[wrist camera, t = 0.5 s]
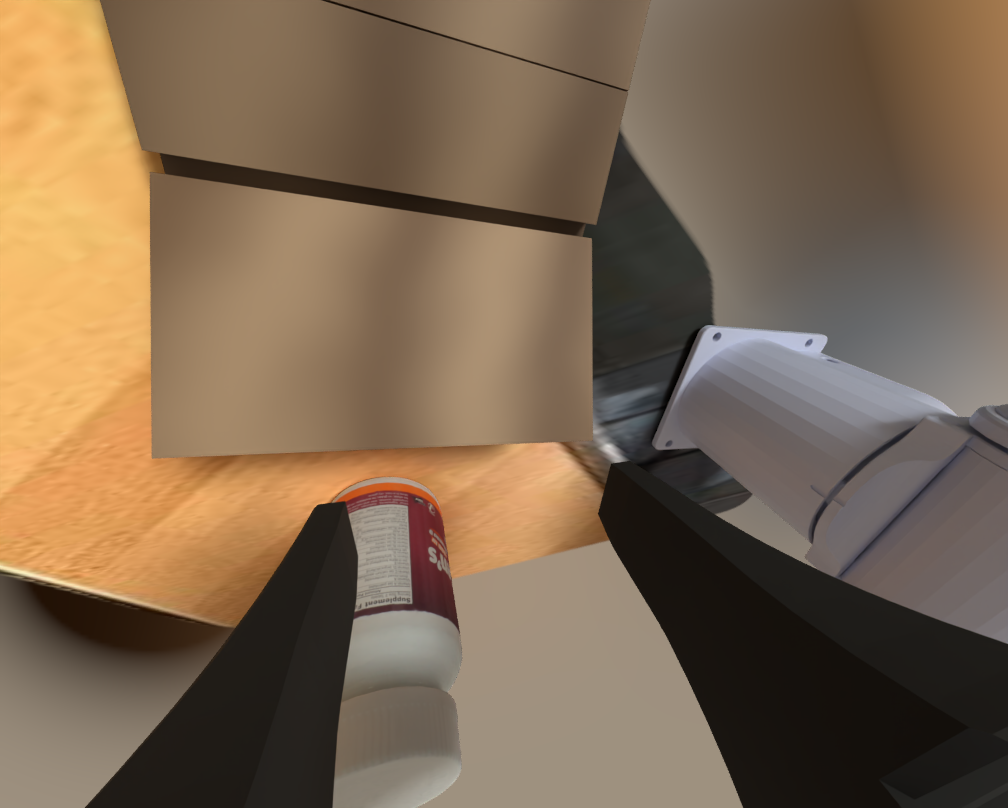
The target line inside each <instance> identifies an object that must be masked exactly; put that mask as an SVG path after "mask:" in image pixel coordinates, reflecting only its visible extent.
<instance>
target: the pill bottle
mask: <svg viewBox="0 0 1008 808" xmlns="http://www.w3.org/2000/svg"><path fill="white" fill-rule="evenodd" d="M341 501H346V506H347V510H348V514H349V519H350V523H351V527H352V531H353V536H354V540H355V544H356V549H357V553H358V579H357V599H356V606H355V613H354V620H353V627H352V633H351V640H350V647H349V653H348V660H347V667H346V673H345V680H344V687H343V693H342V700H341V707H340V715H339V724H338V733H337V748H336V762H335V777H334V792H333V808H417V807H419V806H420V805H423V804H424V803H426V802H428V801H430V800H432V799H433V798H435V797H436V796H438V795H440V794H441V793H442V792H444V791H445V790H446V789H447V788H448V787H450V786H451V785H452V784H453V783H454V782H455V780H456V779H457V778H458V776H459V774H460V771H461V766H462V763H461V751H460V741H459V733H458V720H457V719H458V718H457V710H456V703H455V701H454V699H453V698H452V696H451V695H449V694H448V693H447V692H448V691H449V690H450V688H451V687H452V685H453V684H454V682H455V680H456V678H457V675H458V673H459V670H460V666H461V661H462V647H461V639H460V631H459V625H458V619H457V613H456V607H455V600H454V594H453V587H452V578H451V573H450V567H449V560H448V552H447V547H446V540H445V534H444V526H443V520H442V514H441V509H440V505H439V503H438V501H437V499H436V497H435V496H434V494H433V493H432V492H431V491H430V490H429V489H428V488H427V487H425V486H423V485H422V484H420V483H418V482H415V481H413V480H409V479H406V478H401V477H379V478H373V479H368V480H364V481H362V482H359V483H357V484H354V485H352V486H350V487H348V488H347V489H345V490H344V491H342V492H341V493H340V494H339V495H338V496H337V497H336V498H335V499H334V500H333V501H332V503H334V502H341Z"/></svg>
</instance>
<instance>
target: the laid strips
mask: <svg viewBox="0 0 1008 808" xmlns="http://www.w3.org/2000/svg"><path fill="white" fill-rule="evenodd" d="M650 1H651V0H100V2H101V5H102V9H103V12H104V16H105V20H106V23H107V27H108V30H109V34H110V37H111V41H112V44H113V48H114V52H115V55H116V59H117V62H118V66H119V69H120V73H121V77H122V80H123V84H124V87H125V91H126V94H127V98H128V102H129V105H130V109H131V112H132V116H133V119H134V123H135V126H136V130H137V134H138V137H139V141H140V144H141V148H142V150H145V151H151V152H157V153H160V155H161V159H162V163H163V167H164V171H165V174H167V175H174V176H180V177H187V178H194V179H200V180H207V181H214V182H220V183H227V184H234V185H240V186H247V187H253V188H260V189H267V190H273V191H280V192H287V193H293V194H300V195H307V196H313V197H320V198H327V199H333V200H340V201H346V202H353V203H360V204H366V205H373V206H380V207H386V208H393V209H400V210H406V211H413V212H419V213H426V214H433V215H439V216H446V217H453V218H459V219H466V220H473V221H479V222H486V223H492V224H499V225H506V226H512V227H519V228H526V229H532V230H539V231H546V232H552V233H559V234H565V235H572V236H579V237H583V232H584V228H585V224H586V223H589V224H595V225H596V223H597V219H598V215H599V211H600V207H601V203H602V199H603V194H604V190H605V186H606V182H607V178H608V174H609V170H610V166H611V162H612V157H613V153H614V149H615V145H616V141H617V137H618V133H619V129H620V124H621V120H622V116H623V111H624V108H625V104H626V99H627V96H628V92H626V91H628V90H629V87H630V83H631V79H632V75H633V71H634V67H635V63H636V59H637V54H638V50H639V46H640V42H641V38H642V34H643V30H644V26H645V22H646V17H647V13H648V9H649V5H650Z"/></svg>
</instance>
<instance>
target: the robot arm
mask: <svg viewBox="0 0 1008 808" xmlns="http://www.w3.org/2000/svg"><path fill="white" fill-rule="evenodd" d="M715 334H716V335H715ZM714 335H715V336H714ZM713 336H714V337H713ZM826 342H827V337H826V336H824V335H822V334H814V333H802V332H789V331H776V330H763V329H750V328H737V327H736V328H735V327H724V326H711V325H708V326H705V327H703V328H702V329H701V330H700V331H699V332H698V334H697V337H696V339H695V341H694V344H693V346H692V348H691V351H690V353H689V356H688V358H687V360H686V363H685V365H684V367H683V370H682V372H681V375H680V377H679V379H678V382H677V384H676V386H675V389H674V391H673V394H672V396H671V398H670V401H669V403H668V405H667V408H666V410H665V413H664V415H663V417H662V420H661V422H660V424H659V427H658V429H657V432H656V434H655V436H654V439H653V441H652V445H653V446H654V447H655V448H656V449H657V450H668V449H687V448H699V449H700V450H702V451H703V452H704V453H705V454H706V455H708V456H709V457H710V458H711V459H712V460H713V461H715V462H716V463H717V464H718V465H719V466H721V467H722V468H723V469H724V470H725V471H726V472H728V473H729V474H730V475H731V476H732V477H733V478H735V479H736V480H737V481H738V482H739V483H741V484H742V485H743V486H744V487H745V488H746V489H748V490H749V491H750V492H751V493H752V494H754V495H755V496H756V497H757V498H758V499H759V500H761V501H762V502H763V503H764V504H765V505H767V506H768V507H769V508H770V509H771V510H772V511H774V512H775V513H776V514H777V515H778V516H779V517H781V518H782V519H783V520H784V521H785V522H787V523H788V524H789V525H790V526H791V527H793V528H794V529H795V530H796V531H797V532H798V533H800V534H801V535H802V536H803V537H804V538H805V539H807V540H808V541H809V542H810V543H811V544H812V546H811V548H810V549H809V551H808V552H807V554H806V555H805V558H806V559H807V560H808V561H809V562H810V563H811V564H813V566H815V567H816V568H817V569H818V570H817V569H815V568H813V567H811V566H809V565H807V564H805V563H803V562H801V561H799V560H797V559H795V558H793V557H791V556H789V555H787V554H785V553H783V552H781V551H779V550H777V549H775V548H773V547H771V546H769V545H767V544H765V543H763V542H762V541H760V540H758V539H756V538H754V537H752V536H751V535H749V534H747V533H745V532H744V531H742V530H740V529H738V528H737V527H735V526H733V525H732V524H730V523H728V522H726V521H725V520H723V519H721V518H720V517H718V516H716V515H715V514H713V513H711V512H710V511H708V510H707V509H705V508H703V507H702V506H700V505H699V504H697V503H695V502H694V501H692V500H691V499H689V498H687V497H686V496H684V495H683V494H681V493H680V492H678V491H677V490H675V489H673V488H672V487H670V486H669V485H667V484H666V483H664V482H663V481H661V480H660V479H658V478H656V477H655V476H653V475H652V474H650V473H649V472H647V471H645V470H644V469H642V468H641V467H639V466H637V465H636V464H634V463H632V462H630V461H627V462H620V463H613V464H611V467H610V470H609V474H608V478H607V482H606V486H605V490H604V493H603V497H602V501H601V505H600V509H599V512H598V515H599V517H600V519H601V522H602V524H603V526H604V529H605V531H606V533H607V535H608V537H609V540H610V542H611V544H612V546H613V548H614V550H615V551H616V553H617V555H618V556H619V558H620V560H621V561H622V563H623V565H624V566H625V568H626V570H627V571H628V573H629V574H630V576H631V578H632V580H633V581H634V583H635V584H636V586H637V588H638V589H639V591H640V593H641V594H642V596H643V597H644V599H645V601H646V603H647V604H648V606H649V607H650V609H651V611H652V612H653V614H654V616H655V617H656V619H657V621H658V622H659V624H660V626H661V628H662V629H663V631H664V633H665V635H666V636H667V638H668V640H669V642H670V644H671V646H672V648H673V650H674V652H675V654H676V657H677V659H678V660H679V663H680V665H681V667H682V669H683V671H684V673H685V675H686V677H687V679H688V681H689V683H690V685H691V687H692V689H693V692H694V694H695V696H696V698H697V700H698V702H699V705H700V707H701V709H702V711H703V713H704V715H705V717H706V720H707V722H708V724H709V726H710V729H711V731H712V734H713V736H714V738H715V741H716V743H717V745H718V748H719V750H720V752H721V754H722V757H723V759H724V761H725V764H726V766H727V768H728V771H729V773H730V776H731V778H732V780H733V783H734V786H735V788H736V791H737V793H738V796H739V798H740V801H741V803H742V806H743V808H1008V404H1005V405H1000V406H994V405H989V406H983V407H980V408H979V409H978V410H976V412H975V413H974V414H973V415H972V416H971V417H958V416H957V415H956V414H955V413H954V412H953V411H952V410H951V409H950V408H948V407H947V406H946V405H945V404H943V403H942V402H940V401H939V400H937V399H935V398H934V397H931V396H929V395H927V394H925V393H923V392H920V391H917V390H915V389H912V388H910V387H907V386H904V385H902V384H899V383H897V382H894V381H891V380H889V379H886V378H884V377H881V376H879V375H876V374H873V373H871V372H868V371H866V370H863V369H860V368H858V367H855V366H853V365H850V364H848V363H845V362H842V361H840V360H837V359H835V358H832V357H830V356H827V355H824V354H822V353H821V351H822V349H823V348H824V346H825V344H826ZM357 579H358V553H357V549H356V544H355V540H354V536H353V531H352V527H351V523H350V519H349V514H348V510H347V506H346V501H341V502H334V503H327V504H320V505H317V506H316V507H315V508H314V509H313V511H312V513H311V515H310V516H309V518H308V520H307V522H306V523H305V525H304V527H303V528H302V530H301V532H300V533H299V535H298V537H297V538H296V540H295V542H294V543H293V545H292V546H291V548H290V550H289V551H288V553H287V554H286V556H285V557H284V559H283V561H282V562H281V564H280V565H279V567H278V568H277V570H276V571H275V573H274V574H273V576H272V577H271V579H270V580H269V582H268V583H267V585H266V586H265V588H264V589H263V591H262V592H261V593H260V595H259V596H258V598H257V599H256V601H255V602H254V603H253V605H252V606H251V608H250V609H249V610H248V612H247V613H246V614H245V616H244V617H243V618H242V620H241V621H240V623H239V624H238V625H237V627H236V628H235V629H234V631H233V632H232V634H231V635H230V636H229V638H228V639H227V640H226V642H225V643H224V644H223V646H222V647H221V648H220V650H219V651H218V652H217V653H216V655H215V656H214V657H213V659H212V660H211V661H210V662H209V664H208V665H207V666H206V668H205V669H204V670H203V671H202V673H201V674H200V675H199V676H198V678H197V679H196V680H195V681H194V683H193V684H192V685H191V686H190V687H189V689H188V690H187V691H186V692H185V693H184V695H183V696H182V697H181V698H180V700H179V701H178V702H177V703H176V704H175V706H174V707H173V708H172V709H171V710H170V712H169V713H168V714H167V715H166V717H165V718H164V719H163V720H162V721H161V722H160V723H159V725H158V726H157V727H156V728H155V729H154V730H153V731H152V733H151V734H150V735H149V736H148V737H147V738H146V739H145V741H144V742H143V743H142V744H141V745H140V746H139V747H138V749H137V750H136V751H135V752H134V753H133V754H132V756H131V757H130V758H129V759H128V760H127V761H126V762H125V764H124V765H123V766H122V767H121V768H120V769H119V771H118V772H117V773H116V774H115V775H114V776H113V777H112V778H111V779H110V780H109V782H108V783H107V784H106V785H105V786H104V787H103V788H102V789H101V790H100V792H99V793H98V794H97V795H96V796H95V797H94V798H93V799H92V800H91V801H90V803H89V804H88V805H87V806H86V807H85V808H333V792H334V777H335V762H336V748H337V733H338V724H339V715H340V707H341V700H342V693H343V687H344V680H345V673H346V667H347V660H348V653H349V647H350V640H351V633H352V627H353V620H354V613H355V606H356V599H357Z"/></svg>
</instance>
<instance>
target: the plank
mask: <svg viewBox="0 0 1008 808" xmlns="http://www.w3.org/2000/svg"><path fill="white" fill-rule="evenodd" d="M150 266H151V405H152V458H177V457H201V456H226V455H250V454H275V453H299V452H324V451H348V450H373V449H397V448H422V447H446V446H471V445H495V444H520V443H544V442H569V441H593V393H592V238H585V237H579V236H572V235H565V234H559V233H552V232H546V231H539V230H532V229H526V228H519V227H512V226H506V225H499V224H492V223H486V222H479V221H473V220H466V219H459V218H453V217H446V216H439V215H433V214H426V213H419V212H413V211H406V210H400V209H393V208H386V207H380V206H373V205H366V204H360V203H353V202H346V201H340V200H333V199H327V198H320V197H313V196H307V195H300V194H293V193H287V192H280V191H273V190H267V189H260V188H253V187H247V186H240V185H234V184H227V183H220V182H214V181H207V180H200V179H194V178H187V177H180V176H174V175H167V174H161V173H154V172H150Z"/></svg>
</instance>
